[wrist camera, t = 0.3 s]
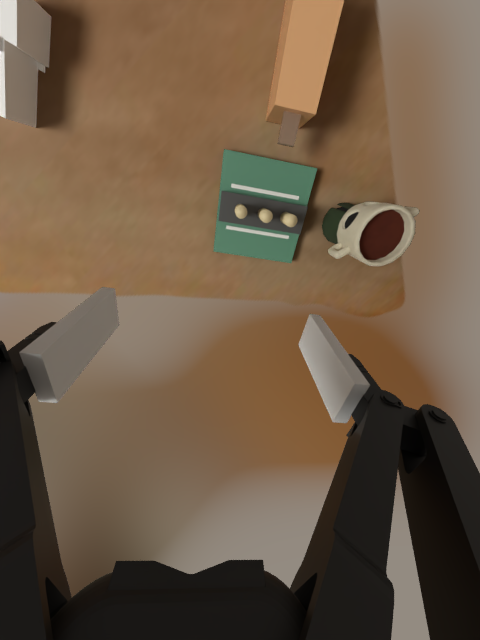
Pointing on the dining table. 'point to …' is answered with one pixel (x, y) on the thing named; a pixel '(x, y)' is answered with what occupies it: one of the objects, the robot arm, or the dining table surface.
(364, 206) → the character mug
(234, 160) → the board
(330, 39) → the block
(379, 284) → the dining table surface
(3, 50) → the napkin holder
